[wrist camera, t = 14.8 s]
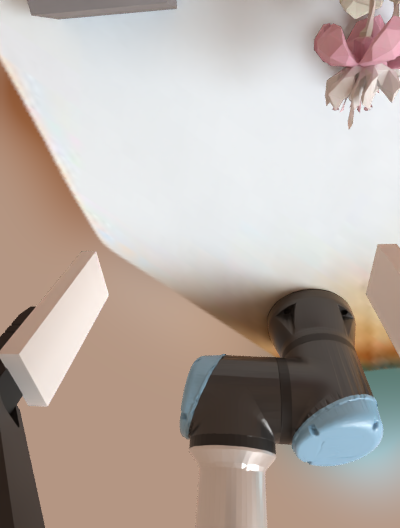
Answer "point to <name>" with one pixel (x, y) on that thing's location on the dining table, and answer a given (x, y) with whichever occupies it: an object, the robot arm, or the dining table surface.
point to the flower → (361, 56)
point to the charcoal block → (94, 7)
